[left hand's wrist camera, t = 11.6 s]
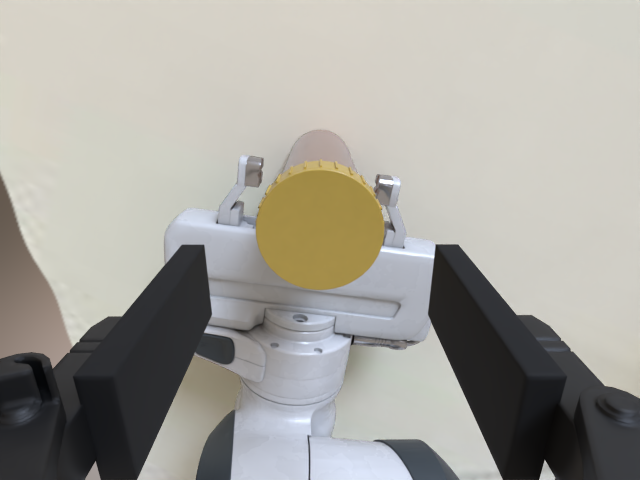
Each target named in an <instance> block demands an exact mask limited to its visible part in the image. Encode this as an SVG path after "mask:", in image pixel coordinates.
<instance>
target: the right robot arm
mask: <svg viewBox="0 0 640 480" xmlns="http://www.w3.org/2000/svg"><path fill="white" fill-rule="evenodd" d="M263 164H264V158H261V157H254V156H249V155H242V156H241V157H240V159H239V164H238V178H237V183H236V184H235V186H234V187H233V188H232V190H231V191H230V192H229V194H228V195H227V197H226V198H225V199H224V201H223V202H222V204H221V205H220V206H219V211H211V210H204V209H197V208H188V209H186V210H184V211H183V212H182V213H180V214H179V215H178V216H177V217H176V218H174V219H173V221H172V222H171V223H170V224H169V225H168V227H167V229H166V231H165V235H164V258H165V264H166V263H167V262H168V261H169V260H170V258H171V257H172V256H173V255H174V253H175V252H176V251H177V250H178V249H179V247H180V246H181V245H204V246H205V255H206V264H207V272H208V281H209V290H210V299H211V308H212V316H211V318H210V320H209V323H208V325H207V327H206V329H205V331H204V334H203V336H202V338H201V340H200V342H199V345H198V347H197V349H196V351H195V353H194V355H195V356H197V357H200V358H202V359H205V360H208V361H210V362H212V363H215V364H217V365H220V366H222V367H224V368H226V369H228V370H230V371H232V372H234V373H236V374H238V375H239V377H240V381H241V389H240V391H239V393H238V395H237V398H236V402H235V408H234V410H233V411H231V412H230V413H229V414H228V415H227V416H226V417H225V418H224V419H223V420H222V421H221V422H220V423H219V424H218V426H217V427H216V428H215V429H214V430H213V431H212V433H211V434H210V435H209V437H208V439H207V441H206V443H205V446H204V448H203V451H202V454H201V458H200V461H199V466H198V470H197V476H196V480H459V479H458V477H457V476H456V474H455V473H454V472H453V471H452V469H451V468H450V467H449V466H448V465H447V463H446V462H445V461H444V460H443V459H442V458H441V457H440V456H439V455H438V454H437V453H436V452H435V451H434V450H433V449H432V448H430V447H429V446H428V445H427V444H426V443H425V442H423V441H421V440H417V439H408V440H374V441H363V440H352V439H341V438H331V437H332V433H333V429H334V424H335V418H336V406H335V398H336V396H337V394H338V393H339V391H340V389H341V387H342V384H343V380H344V375H345V370H346V366H347V361H348V356H349V351H350V345H352V344H353V345H361V346H371V347H377V346H378V347H380V346H381V347H388V348H390V349H395V350H404V349H406V347H407V346H411V345H415V344H417V343H419V342H421V341H424V339H425V338H426V337H427V335H428V331H429V328H430V325H431V320H430V318H429V316H428V308H429V299H430V290H431V281H432V272H433V264H434V255H435V246H436V245H435V244H434V243H433V242H432V241H430V240H426V239H418V238H411V237H406V230H405V227H404V224H403V222H402V219H401V216H400V213H399V210H398V207H397V205H396V204H397V199H398V195H399V190H400V179H399V178H398V177H395V176H388V175H380V174H377V176H376V180H375V183H376V186H375V187H374V192H375V195H376V196H375V198H376V199H378V201H379V203H380V205H385V206H386V209H387V212H388V215H389V218H390V221H391V222H388V221H384V222H385V224H384V239H383V244H382V247H381V250H380V252H379V255H378V257H377V258H376V260H375V262H374V263H373V264H372V266H371V267H370V268H369V269H368V270H367V271H366V272H365V273H364V274H363V275H362V276H360V277H359V278H358V279H356V280H355V281H353V282H351V283H349V284H347V285H344V286H342V287H338V288H335V289H329V290H311V289H306V288H302V287H298V286H295V285H293V284H291V283H289V282H287V281H285V280H284V279H282V278H281V277H280V276H278V275H277V274H276V273H275V272H274V271H273V270H272V269H271V268H270V267H269V266H268V264H267V263H266V262H265V260H264V258H263V257H262V255H261V253H260V250H259V248H258V244H257V240H256V223H255V221H256V218H257V217H256V216H248V215H243V211H244V203H243V202H242V201H237V202H236V200H237V199H238V197H239V196H240V195H241V193H242V192H243V191H244V189H245V188H246V186H250V187H259V186H260V184H261V182H262V174H263V172H262V170H261V169H262V167H263ZM407 340H410V341H407Z"/></svg>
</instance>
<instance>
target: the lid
mask: <svg viewBox="0 0 640 480" xmlns="http://www.w3.org/2000/svg"><path fill="white" fill-rule="evenodd" d="M265 195H266V196H265V198H262V201H261V203H260V205H259V207H258V208H260V209H259V212H258V215H257V218H256V221H255V223H256V240H257V244H258V248H259V250H260V253H261V255H262V257H263V258H264V260H265V262H266V263H267V264H268V266H269V267H270V268H271V269H272V270H273V271H274V272H275V273H276V274H277V275H278V276H280V277H281V278H282V279H284V280H285V281H287V282H289V283H291V284H293V285H295V286H298V287H302V288H306V289H311V290H329V289H335V288H338V287H342V286H344V285H347V284H349V283H351V282H353V281H355V280H356V279H358V278H359V277H360V276H362V275H363V274H364V273H365V272H366V271H367V270H368V269H369V268H370V267H371V266H372V264H373V263H374V262H375V260H376V258H377V257H378V255H379V252H380V250H381V247H382V244H383V239H384V224H385V222H384V220H383V216H382V212H381V210H382V207H381V205H380V203H379V201H378V199H376V198H375V196H376V195H375V192H374V190H373V188H372V187H371V186H370V187H369V185H368V184H367V183H366V181H365V180H364V177H363V176H362V175H361V176H360V175H359V174H357V173H356V172H354V171H353V170H352V169H351V167H349V168H348V167H346V166H344V165H341V164H338V163H337V161H335V163H334V162H330V161H322V159H320V161H311V162H307V161H305V162H304V163H302V164H299V165H296V166H294V167H293V166H291V167H290V169H289V170H287V171H285V172H284V173H283V174H282V175H280V174H279V175H278V177H277V179H276V180H275V181H274V183H273V184H272V185H269V187H268V189H267V191H266V193H265Z"/></svg>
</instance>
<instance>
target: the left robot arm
mask: <svg viewBox="0 0 640 480" xmlns="http://www.w3.org/2000/svg"><path fill="white" fill-rule="evenodd" d="M211 316H212V308H211V299H210V290H209V281H208V272H207V264H206V255H205V246H204V245H181V246H180V247H179V249H178V250H177V251H176V252H175V253H174V255H173V256H172V257H171V258H170V260H169V261H168V262H167V263H166V264H165V266H164V267H163V268H162V269H161V270H160V272H159V273H158V274H157V275H156V276H155V278H154V279H153V280H152V281H151V282H150V284H149V285H148V286H147V287H146V288H145V290H144V291H143V292H142V293H141V295H140V296H139V297H138V298H137V299H136V301H135V302H134V303H133V304H132V305H131V307H130V308H129V309H128V310H127V311H126V313H125V314H124V315H123V316H122V317H107V318H105V319H104V320H102V321H101V322H99V323H97V324H96V325H94V326H92V327H91V328H90V329H89V330H88V331H87V332H86V333H85V334H84V336H83V337H82V338H81V339H80V341H79V342H77V343H76V344H75V345H74V346H73V348H72V349H71V350H70V353H67V354H66V355H65V356H64V357H63V359H62V360H61V361H60V362H59V363H58V364H57V365H56V366H55V367H54V368H53V369H52V365H51V362H50V359H49V358H48V357H47V356H45V355H44V354H40V353H33V352H31V353H22V354H16V355H12V356H8V357H5V358H2V359H0V480H85V478H86V476H87V475H88V473H89V471H90V469H91V468H92V466H93V464H94V463H95V461H96V463H97V467H98V471H99V474H100V478H101V480H137V478H138V476H139V474H140V472H141V470H142V467H143V465H144V463H145V461H146V459H147V456H148V454H149V452H150V450H151V448H152V445H153V443H154V441H155V439H156V437H157V434H158V432H159V430H160V428H161V426H162V424H163V421H164V419H165V417H166V415H167V413H168V410H169V408H170V406H171V404H172V402H173V399H174V397H175V395H176V393H177V391H178V388H179V386H180V384H181V382H182V380H183V377H184V375H185V373H186V371H187V369H188V366H189V364H190V362H191V360H192V358H193V355H194V353H195V351H196V349H197V347H198V345H199V342H200V340H201V338H202V336H203V334H204V331H205V329H206V327H207V325H208V323H209V320H210V318H211ZM428 316H429V318H430V320H431V323H432V325H433V327H434V329H435V331H436V334H437V336H438V338H439V340H440V342H441V345H442V347H443V349H444V351H445V353H446V355H447V358H448V360H449V362H450V364H451V366H452V369H453V371H454V373H455V375H456V377H457V380H458V382H459V384H460V386H461V388H462V391H463V393H464V395H465V397H466V399H467V402H468V404H469V406H470V408H471V410H472V413H473V415H474V417H475V419H476V421H477V424H478V426H479V428H480V430H481V432H482V435H483V437H484V439H485V441H486V443H487V445H488V448H489V450H490V452H491V454H492V456H493V459H494V461H495V463H496V465H497V467H498V470H499V472H500V474H501V476H502V478H503V480H539V478H540V474H541V471H542V467H543V463H544V460H546V462H547V464H548V466H549V467H550V469H551V471H552V472H553V474H554V476H555V477H556V478H555V480H640V399H639V398H638V397H636V396H634V395H632V394H630V393H628V392H625V391H622V390H619V389H616V388H613V387H607V386H604V385H603V384H602V383H601V381H600V380H599V379H598V378H597V377H596V376H595V375H594V374H593V373H592V372H591V371H590V370H589V368H588V367H587V366H586V365H585V364H584V363H583V362H582V361H581V360H580V359H579V358H578V357H577V355H576V354H575V353H574V352H571V350H570V348H569V347H568V346H567V345H566V344H565V342H564V341H561V338H560V337H559V336H558V335H557V334H556V333H555V332H554V331H553V329H552V328H551V327H550V326H548V325H547V324H545V323H544V322H542V321H540V320H539V319H537V318H535V317H534V316H532V315H516V314H515V313H514V311H513V310H512V309H511V308H510V307H509V305H508V304H507V303H506V302H505V301H504V299H503V298H502V297H501V296H500V295H499V293H498V292H497V291H496V290H495V288H494V287H493V286H492V285H491V284H490V282H489V281H488V280H487V279H486V278H485V276H484V275H483V274H482V273H481V272H480V270H479V269H478V268H477V267H476V266H475V264H474V263H473V262H472V261H471V260H470V258H469V257H468V256H467V255H466V253H465V252H464V251H463V250H462V249H461V247H460V246H459V245H436V246H435V255H434V264H433V272H432V281H431V290H430V299H429V308H428Z"/></svg>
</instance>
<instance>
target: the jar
mask: <svg viewBox="0 0 640 480" xmlns="http://www.w3.org/2000/svg"><path fill="white" fill-rule="evenodd" d="M320 159H322V161H330V162H334V163H335V161H337V163H338V164H341V165H344V166H346V167H348V168H349V167H351V169H352V170H353V171H354V172H356V173H357V170H356V168H355V165H354V163H353V160H352V158H351V155H350V153H349V150H348V148H347V146H346V144H345V142H344V141H343V140H342V139H341V138H340V137H339V136H337V135H336V134H334V133H332V132H330V131H326V130H314V131H310V132H308V133H306V134H304V135H303V136H301V137H300V138H299V139H298V140H297V141H296V142H295V144H294V146H293V148H292V150H291V153H290V155H289V158H288V160H287V163H286V165H285V168H284V170H283V173H284V172H285V171H287V170H289V169H290V167H291V166H293V167H294V166H296V165H299V164H302V163H304V162H305V161H307V162H311V161H320ZM283 173H282V174H283ZM357 174H358V173H357Z"/></svg>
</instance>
